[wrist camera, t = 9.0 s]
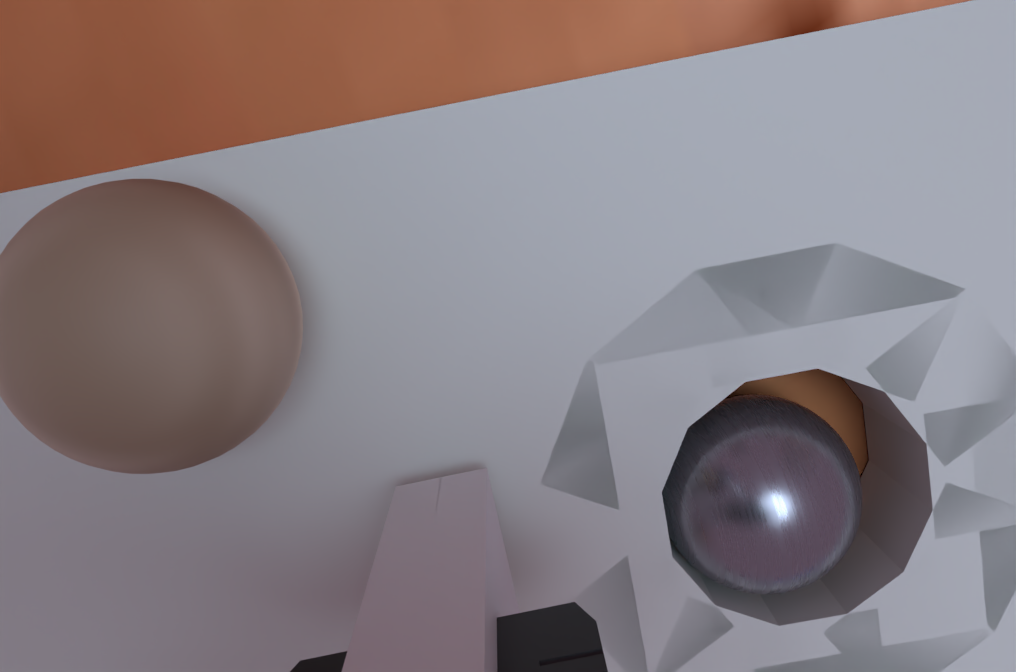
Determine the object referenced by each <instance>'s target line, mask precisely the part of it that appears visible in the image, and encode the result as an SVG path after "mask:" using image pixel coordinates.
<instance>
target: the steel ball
mask: <svg viewBox="0 0 1016 672" xmlns="http://www.w3.org/2000/svg"><path fill="white" fill-rule="evenodd" d="M662 497H663V503H664V509H665V515H666V521H667V527H668V533H669V536H670V538H671V540H672V542H673V543H674V545H675V546H676V548H677V549H678V550H679V552H680V553H681V554H682V555H683V557H684V558H685V559H686V560H687V561H688V562H689V563H690V564H691V565H692V566H693V567H695V568H696V569H697V570H698V571H699V572H701V573H702V574H703V575H705V576H707V577H708V578H710V579H711V580H713V581H715V582H717V583H719V584H721V585H724V586H726V587H728V588H731V589H734V590H738V591H741V592H747V593H753V594H777V593H785V592H789V591H793V590H797V589H799V588H802V587H804V586H806V585H809V584H811V583H813V582H815V581H817V580H818V579H820V578H822V577H823V576H824V575H826V574H827V573H828V572H829V571H831V570H832V569H833V568H834V567H835V566H836V565H837V564H838V562H839V561H840V560H841V559H842V558H843V557H844V556H845V554H846V553H847V551H848V549H849V548H850V546H851V544H852V542H853V540H854V538H855V536H856V533H857V531H858V527H859V523H860V519H861V515H862V502H863V494H862V486H861V480H860V475H859V471H858V468H857V465H856V463H855V460H854V458H853V456H852V454H851V452H850V450H849V449H848V447H847V445H846V444H845V443H844V441H843V440H842V438H841V437H840V436H839V434H838V433H837V432H836V431H835V430H834V429H833V428H832V427H831V426H830V425H829V424H828V423H827V422H826V421H825V420H824V419H822V418H821V417H820V416H818V415H817V414H815V413H814V412H812V411H811V410H809V409H808V408H806V407H804V406H801V405H799V404H797V403H795V402H792V401H789V400H786V399H783V398H780V397H774V396H768V395H741V396H735V397H731V398H727V399H723V400H722V401H721V402H720V403H718V404H717V405H716V406H715V407H713V408H712V409H711V410H710V411H708V412H707V413H706V414H705V415H703V416H702V417H701V418H700V419H698V420H697V421H696V422H695V423H693V424H692V425H691V426H690V427H688V429H687V431H686V434H685V436H684V439H683V441H682V444H681V446H680V449H679V451H678V454H677V456H676V459H675V461H674V463H673V466H672V468H671V471H670V473H669V476H668V478H667V481H666V483H665V486H664V488H663V491H662Z"/></svg>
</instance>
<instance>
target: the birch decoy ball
mask: <svg viewBox="0 0 1016 672" xmlns="http://www.w3.org/2000/svg"><path fill="white" fill-rule="evenodd" d="M302 337H303V313H302V307H301V301H300V295H299V292H298V289H297V285H296V282H295V279H294V276H293V274H292V272H291V270H290V268H289V266H288V263H287V261H286V260H285V258H284V256H283V255H282V253H281V252H280V250H279V248H278V247H277V245H276V244H275V243H274V242H273V240H272V239H271V238H270V237H269V235H268V234H267V233H266V232H265V231H264V230H263V229H262V228H261V227H260V226H259V225H258V224H257V223H256V222H255V221H254V220H253V219H252V218H250V217H249V216H248V215H246V214H245V213H244V212H242V211H241V210H240V209H238V208H237V207H235V206H234V205H232V204H230V203H228V202H227V201H225V200H223V199H221V198H220V197H218V196H216V195H214V194H212V193H209V192H207V191H204V190H202V189H199V188H197V187H193V186H189V185H186V184H182V183H178V182H171V181H164V180H157V179H125V180H117V181H110V182H104V183H100V184H97V185H93V186H89V187H86V188H83V189H80V190H78V191H76V192H73V193H71V194H69V195H66V196H65V197H63V198H61V199H59V200H57V201H55V202H54V203H52V204H50V205H49V206H47V207H45V208H44V209H42V210H41V211H40V212H39V213H37V214H36V215H35V216H34V217H33V218H31V219H30V220H29V221H28V222H27V223H26V224H25V225H24V226H23V227H22V228H21V229H20V230H19V231H18V232H17V233H16V234H15V236H14V237H13V238H12V239H11V240H10V241H9V242H8V244H7V245H6V247H5V249H4V250H3V252H2V253H1V255H0V396H1V398H2V400H3V401H4V403H5V404H6V405H7V407H8V408H9V410H10V411H11V412H12V414H13V415H14V416H15V417H16V418H17V419H18V420H19V421H20V423H21V424H22V425H23V426H24V427H25V428H26V429H27V430H28V431H30V432H31V433H32V434H33V435H34V436H35V437H37V438H38V439H39V440H40V441H42V442H43V443H45V444H46V445H47V446H49V447H50V448H52V449H53V450H55V451H57V452H59V453H61V454H63V455H64V456H66V457H68V458H70V459H73V460H75V461H78V462H80V463H83V464H86V465H89V466H93V467H97V468H101V469H105V470H109V471H113V472H120V473H128V474H154V473H163V472H172V471H178V470H182V469H186V468H190V467H194V466H196V465H199V464H201V463H204V462H206V461H209V460H211V459H214V458H216V457H219V456H221V455H223V454H224V453H226V452H228V451H230V450H231V449H233V448H235V447H236V446H237V445H239V444H240V443H241V442H243V441H244V440H245V439H247V438H248V437H249V436H251V435H252V434H253V433H254V432H256V431H257V430H258V429H259V428H260V427H261V426H262V425H263V424H264V423H265V422H266V421H267V420H268V418H269V417H270V416H271V414H272V413H273V412H274V410H275V409H276V408H277V406H278V405H279V404H280V402H281V401H282V399H283V397H284V395H285V394H286V392H287V390H288V388H289V386H290V385H291V382H292V379H293V377H294V374H295V372H296V369H297V365H298V361H299V357H300V352H301V347H302Z"/></svg>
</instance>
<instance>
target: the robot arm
mask: <svg viewBox="0 0 1016 672" xmlns="http://www.w3.org/2000/svg"><path fill="white" fill-rule="evenodd" d="M290 672H608V670H607V666H606V661H605V657H604V653H603V648H602V644H601V640H600V635H599V631H598V627H597V622H596V620H594V619H593V618H592V617H591V616H590V615H589V614H588V613H587V612H585V611H584V610H583V609H582V608H581V607H580V606H579V605H578V604H577V603H575V602H571V603H566V604H561V605H556V606H551V607H546V608H542V609H537V610H532V611H527V612H522V613H520V611H519V607H518V602H517V598H516V594H515V589H514V585H513V581H512V576H511V572H510V567H509V563H508V559H507V554H506V550H505V546H504V541H503V537H502V532H501V528H500V524H499V519H498V515H497V511H496V506H495V502H494V497H493V493H492V489H491V484H490V480H489V476H488V471H487V468H483V469H478V470H474V471H469V472H464V473H459V474H454V475H450V476H445V477H440V478H435V479H430V480H425V481H421V482H416V483H411V484H406V485H401V486H396V487H395V491H394V494H393V497H392V501H391V504H390V508H389V511H388V515H387V518H386V521H385V525H384V528H383V532H382V535H381V538H380V542H379V545H378V549H377V552H376V556H375V559H374V562H373V566H372V569H371V573H370V576H369V579H368V583H367V586H366V590H365V593H364V597H363V600H362V603H361V607H360V610H359V614H358V617H357V620H356V624H355V627H354V631H353V634H352V638H351V641H350V644H349V648H348V651H345V652H340V653H335V654H330V655H325V656H320V657H315V658H310V659H305V660H300V661H299V662H298V663H297V665H296V666H295V667H294V668H293V669H292V670H291V671H290Z"/></svg>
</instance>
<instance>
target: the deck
mask: <svg viewBox="0 0 1016 672" xmlns="http://www.w3.org/2000/svg"><path fill="white" fill-rule="evenodd" d="M125 179H157V180H164V181H171V182H178V183H182V184H186V185H189V186H193V187H197V188H199V189H202V190H204V191H207V192H209V193H212V194H214V195H216V196H218V197H220V198H221V199H223V200H225V201H227V202H228V203H230V204H232V205H234V206H235V207H237V208H238V209H240V210H241V211H242V212H244V213H245V214H246V215H248V216H249V217H250V218H252V219H253V220H254V221H255V222H256V223H257V224H258V225H259V226H260V227H261V228H262V229H263V230H264V231H265V232H266V233H267V234H268V235H269V237H270V238H271V239H272V240H273V242H274V243H275V244H276V245H277V247H278V248H279V250H280V252H281V253H282V255H283V256H284V258H285V260H286V261H287V263H288V266H289V268H290V270H291V272H292V274H293V276H294V279H295V282H296V285H297V289H298V292H299V295H300V301H301V307H302V313H303V337H302V347H301V352H300V357H299V361H298V365H297V369H296V372H295V374H294V377H293V379H292V382H291V385H290V386H289V388H288V390H287V392H286V394H285V395H284V397H283V399H282V401H281V402H280V404H279V405H278V406H277V408H276V409H275V410H274V412H273V413H272V414H271V416H270V417H269V418H268V420H267V421H266V422H265V423H264V424H263V425H262V426H261V427H260V428H259V429H258V430H257V431H256V432H254V433H253V434H252V435H251V436H249V437H248V438H247V439H245V440H244V441H243V442H241V443H240V444H239V445H237V446H236V447H235V448H233V449H231V450H230V451H228V452H226V453H224V454H223V455H221V456H219V457H216V458H214V459H211V460H209V461H206V462H204V463H201V464H199V465H196V466H194V467H190V468H186V469H182V470H178V471H172V472H163V473H154V474H128V473H120V472H113V471H109V470H105V469H101V468H97V467H93V466H89V465H86V464H83V463H80V462H78V461H75V460H73V459H70V458H68V457H66V456H64V455H63V454H61V453H59V452H57V451H55V450H53V449H52V448H50V447H49V446H47V445H46V444H45V443H43V442H42V441H40V440H39V439H38V438H37V437H35V436H34V435H33V434H32V433H31V432H30V431H28V430H27V429H26V428H25V427H24V426H23V425H22V424H21V423H20V421H19V420H18V419H17V418H16V417H15V416H14V415H13V414H12V412H11V411H10V410H9V408H8V407H7V405H6V404H5V403H4V401H3V400H2V398H1V396H0V672H290V671H291V670H292V669H293V668H294V667H295V666H296V665H297V663H298V662H299V661H300V660H305V659H310V658H315V657H320V656H325V655H330V654H335V653H340V652H345V651H348V648H349V644H350V641H351V638H352V634H353V631H354V627H355V624H356V620H357V617H358V614H359V610H360V607H361V603H362V600H363V597H364V593H365V590H366V586H367V583H368V579H369V576H370V573H371V569H372V566H373V562H374V559H375V556H376V552H377V549H378V545H379V542H380V538H381V535H382V532H383V528H384V525H385V521H386V518H387V515H388V511H389V508H390V504H391V501H392V497H393V494H394V491H395V487H396V486H401V485H406V484H411V483H416V482H421V481H425V480H430V479H435V478H440V477H445V476H450V475H454V474H459V473H464V472H469V471H474V470H478V469H483V468H487V471H488V476H489V480H490V484H491V489H492V493H493V497H494V502H495V506H496V511H497V515H498V519H499V524H500V528H501V532H502V537H503V541H504V546H505V550H506V554H507V559H508V563H509V567H510V572H511V576H512V581H513V585H514V589H515V594H516V598H517V602H518V607H519V611H520V613H522V612H527V611H532V610H537V609H542V608H546V607H551V606H556V605H561V604H566V603H571V602H575V603H577V604H578V605H579V606H580V607H581V608H582V609H583V610H584V611H585V612H587V613H588V614H589V615H590V616H591V617H592V618H593V619H594V620H596V622H597V627H598V631H599V635H600V640H601V644H602V648H603V653H604V657H605V661H606V666H607V670H608V672H1016V0H973V1H968V2H963V3H958V4H953V5H948V6H943V7H938V8H933V9H928V10H923V11H917V12H912V13H907V14H902V15H897V16H892V17H887V18H882V19H877V20H872V21H867V22H862V23H857V24H852V25H847V26H842V27H837V28H832V29H827V30H822V31H817V32H812V33H807V34H801V35H796V36H791V37H786V38H781V39H776V40H771V41H766V42H761V43H756V44H751V45H746V46H741V47H736V48H731V49H726V50H721V51H716V52H711V53H706V54H701V55H696V56H691V57H685V58H680V59H675V60H670V61H665V62H660V63H655V64H650V65H645V66H640V67H635V68H630V69H625V70H620V71H615V72H610V73H605V74H600V75H595V76H590V77H585V78H580V79H575V80H569V81H564V82H559V83H554V84H549V85H544V86H539V87H534V88H529V89H524V90H519V91H514V92H509V93H504V94H499V95H494V96H489V97H484V98H479V99H474V100H469V101H464V102H459V103H453V104H448V105H443V106H438V107H433V108H428V109H423V110H418V111H413V112H408V113H403V114H398V115H393V116H388V117H383V118H378V119H373V120H368V121H363V122H358V123H353V124H348V125H343V126H337V127H332V128H327V129H322V130H317V131H312V132H307V133H302V134H297V135H292V136H287V137H282V138H277V139H272V140H267V141H262V142H257V143H252V144H247V145H242V146H237V147H232V148H226V149H221V150H216V151H211V152H206V153H201V154H196V155H191V156H186V157H181V158H176V159H171V160H166V161H161V162H156V163H151V164H146V165H141V166H136V167H131V168H126V169H121V170H116V171H110V172H105V173H100V174H95V175H90V176H85V177H80V178H75V179H70V180H65V181H60V182H55V183H50V184H45V185H40V186H35V187H30V188H25V189H20V190H15V191H10V192H5V193H0V255H1V253H2V252H3V250H4V249H5V247H6V245H7V244H8V242H9V241H10V240H11V239H12V238H13V237H14V236H15V234H16V233H17V232H18V231H19V230H20V229H21V228H22V227H23V226H24V225H25V224H26V223H27V222H28V221H29V220H30V219H31V218H33V217H34V216H35V215H36V214H37V213H39V212H40V211H41V210H42V209H44V208H45V207H47V206H49V205H50V204H52V203H54V202H55V201H57V200H59V199H61V198H63V197H65V196H66V195H69V194H71V193H73V192H76V191H78V190H80V189H83V188H86V187H89V186H93V185H97V184H100V183H104V182H110V181H117V180H125ZM812 369H821V370H824V371H826V372H829V373H832V374H835V375H838V376H841V377H842V378H843V379H844V381H845V382H846V383H847V384H848V386H849V387H850V388H851V389H852V391H853V392H854V393H855V394H856V395H857V397H858V398H859V399H860V400H861V402H862V403H863V411H864V420H865V429H866V438H867V447H868V456H869V461H868V463H867V465H866V468H865V470H864V472H863V474H862V476H861V479H860V480H861V486H862V494H863V502H862V515H861V519H860V523H859V527H858V531H857V533H856V536H855V538H854V540H853V542H852V544H851V546H850V548H849V549H848V551H847V553H846V554H845V556H844V557H843V558H842V559H841V560H840V561H839V562H838V564H837V565H836V566H835V567H834V568H833V569H832V570H831V571H829V572H828V573H827V574H826V575H824V576H823V577H822V578H820V579H818V580H817V581H815V582H813V583H811V584H809V585H806V586H804V587H802V588H799V589H797V590H793V591H789V592H785V593H777V594H753V593H747V592H741V591H738V590H734V589H731V588H728V587H726V586H724V585H721V584H719V583H717V582H715V581H713V580H711V579H710V578H708V577H707V576H705V575H703V574H702V573H701V572H699V571H698V570H697V569H696V568H695V567H693V566H692V565H691V564H690V563H689V562H688V561H687V560H686V559H685V558H684V557H683V555H682V554H681V553H680V552H679V550H678V549H677V548H676V546H675V545H674V543H673V542H672V540H671V538H670V536H669V533H668V527H667V521H666V515H665V509H664V503H663V497H662V491H663V488H664V486H665V483H666V481H667V478H668V476H669V473H670V471H671V468H672V466H673V463H674V461H675V459H676V456H677V454H678V451H679V449H680V446H681V444H682V441H683V439H684V436H685V434H686V431H687V429H688V427H690V426H691V425H692V424H693V423H695V422H696V421H697V420H698V419H700V418H701V417H702V416H703V415H705V414H706V413H707V412H708V411H710V410H711V409H712V408H713V407H715V406H716V405H717V404H718V403H720V402H721V401H722V400H723V399H725V398H726V397H727V396H728V395H730V394H731V393H732V392H733V391H735V390H736V389H737V388H738V387H740V386H741V385H742V384H743V383H745V382H748V381H753V380H759V379H764V378H769V377H775V376H780V375H785V374H791V373H796V372H802V371H807V370H812Z"/></svg>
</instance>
